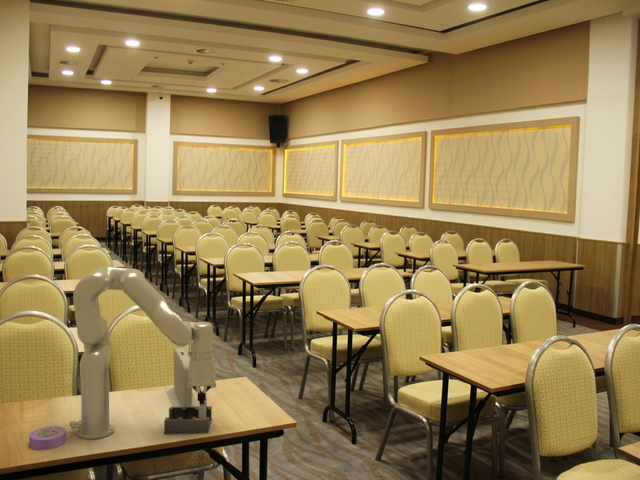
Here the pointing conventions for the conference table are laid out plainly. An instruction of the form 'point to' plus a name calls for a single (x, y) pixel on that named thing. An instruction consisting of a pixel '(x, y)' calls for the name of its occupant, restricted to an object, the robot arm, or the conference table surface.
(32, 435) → the masking tape
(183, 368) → the wireless router
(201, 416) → the panel
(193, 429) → the rack
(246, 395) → the conference table surface
